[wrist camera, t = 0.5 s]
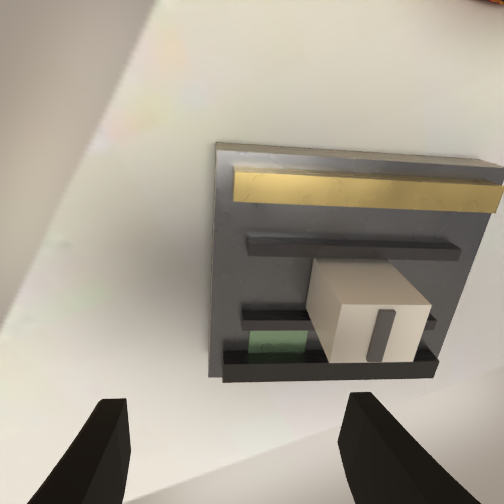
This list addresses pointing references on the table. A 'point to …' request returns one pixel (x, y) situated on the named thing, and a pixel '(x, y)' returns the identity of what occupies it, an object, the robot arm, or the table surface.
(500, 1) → the canned food
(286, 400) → the table surface
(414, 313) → the block
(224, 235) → the breaker panel
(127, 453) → the robot arm
